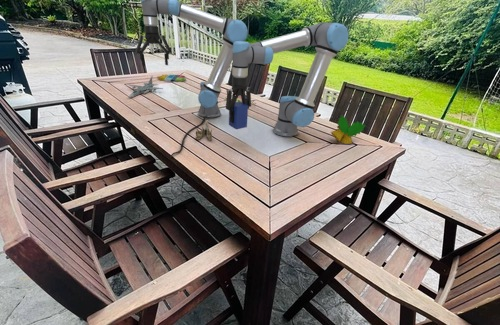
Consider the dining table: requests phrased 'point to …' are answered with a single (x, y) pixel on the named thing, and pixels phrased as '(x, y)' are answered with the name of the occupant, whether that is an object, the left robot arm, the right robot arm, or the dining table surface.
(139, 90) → the airplane
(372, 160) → the dining table surface
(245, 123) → the brick
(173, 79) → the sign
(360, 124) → the ornament
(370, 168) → the dining table surface
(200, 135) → the jawbone
